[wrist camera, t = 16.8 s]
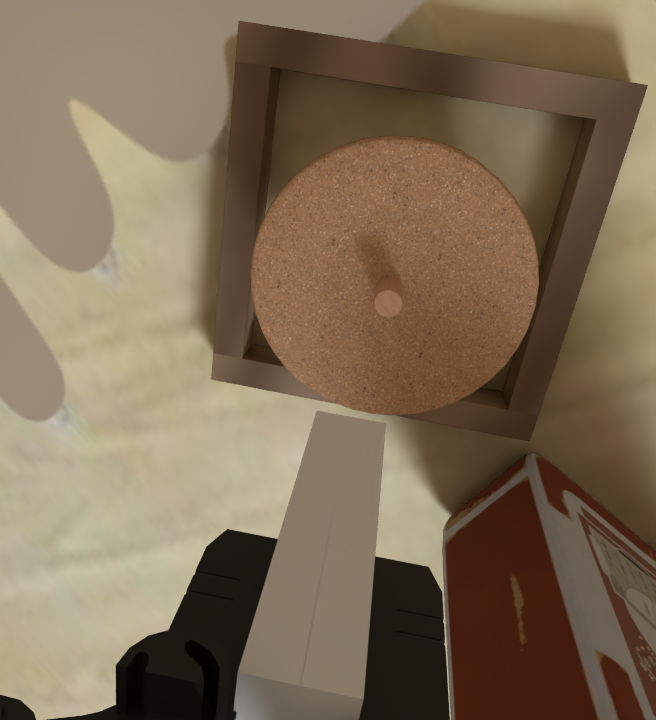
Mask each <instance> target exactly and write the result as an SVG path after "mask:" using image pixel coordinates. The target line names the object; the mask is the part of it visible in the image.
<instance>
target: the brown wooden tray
mask: <svg viewBox="0 0 656 720" xmlns="http://www.w3.org/2000/svg"><path fill="white" fill-rule="evenodd" d="M280 69H285V70H291V71H298V72H304V73H310V74H316V75H322V76H329V77H335V78H341V79H347V80H353V81H360V82H366V83H372V84H378V85H384V86H390V87H397V88H403V89H409V90H415V91H421V92H428V93H434V94H440V95H446V96H452V97H459V98H465V99H471V100H477V101H483V102H490V103H496V104H502V105H508V106H514V107H521V108H527V109H533V110H539V111H545V112H552V113H558V114H564V115H570V116H576V117H583V118H584V122H583V125H582V128H581V132H580V135H579V138H578V142H577V145H576V148H575V152H574V155H573V158H572V162H571V165H570V168H569V172H568V175H567V178H566V182H565V185H564V189H563V192H562V195H561V199H560V202H559V205H558V209H557V212H556V215H555V219H554V222H553V225H552V229H551V232H550V235H549V239H548V242H547V245H546V249H545V252H544V256H543V259H542V262H541V266H540V269H539V286H538V293H537V299H536V306H535V310H534V313H533V316H532V319H531V322H530V325H529V328H528V330H527V332H526V334H525V336H524V338H523V339H522V341H521V343H520V345H519V347H518V349H517V350H516V351H515V353H514V356H513V359H512V363H511V366H510V369H509V373H508V376H507V379H506V383H505V386H504V390H503V392H500V391H495V390H490V389H485V388H479V389H477V390H476V391H475V392H473V393H471V394H470V395H468V396H466V397H464V398H462V399H460V400H458V401H456V402H454V403H452V404H449V405H446V406H443V407H441V408H438V409H435V410H430V411H426V412H421V413H416V414H404V415H397V416H402V417H407V418H412V419H417V420H422V421H427V422H433V423H438V424H443V425H448V426H453V427H458V428H463V429H468V430H474V431H479V432H484V433H489V434H494V435H499V436H504V437H509V438H515V439H520V440H525V441H530V439H531V436H532V433H533V430H534V427H535V424H536V421H537V418H538V415H539V412H540V409H541V406H542V403H543V400H544V397H545V394H546V391H547V388H548V385H549V382H550V379H551V376H552V373H553V370H554V367H555V364H556V361H557V358H558V355H559V352H560V349H561V346H562V343H563V340H564V337H565V334H566V331H567V328H568V325H569V322H570V319H571V316H572V313H573V310H574V307H575V304H576V301H577V298H578V295H579V292H580V289H581V285H582V282H583V279H584V276H585V273H586V270H587V267H588V264H589V261H590V258H591V255H592V252H593V249H594V246H595V243H596V240H597V237H598V234H599V231H600V228H601V225H602V222H603V219H604V216H605V213H606V210H607V207H608V204H609V201H610V198H611V195H612V192H613V189H614V186H615V183H616V180H617V177H618V174H619V171H620V168H621V165H622V162H623V159H624V156H625V153H626V150H627V147H628V144H629V141H630V138H631V135H632V132H633V129H634V126H635V123H636V120H637V117H638V114H639V111H640V107H641V104H642V101H643V98H644V95H645V92H646V89H647V86H648V85H644V84H637V83H631V82H625V81H618V80H612V79H606V78H599V77H593V76H587V75H580V74H574V73H567V72H561V71H555V70H548V69H542V68H536V67H529V66H523V65H517V64H510V63H504V62H497V61H491V60H485V59H478V58H472V57H466V56H459V55H453V54H447V53H440V52H434V51H427V50H421V49H415V48H408V47H402V46H396V45H389V44H383V43H377V42H370V41H364V40H357V39H350V38H344V37H338V36H332V35H325V34H319V33H313V32H307V31H300V30H294V29H287V28H281V27H275V26H268V25H261V24H256V23H248V22H243V21H239V25H238V37H237V50H236V63H235V76H234V89H233V103H232V116H231V129H230V142H229V155H228V168H227V181H226V194H225V207H224V220H223V233H222V246H221V260H220V273H219V286H218V299H217V312H216V325H215V338H214V351H213V364H212V377H211V379H212V380H217V381H222V382H227V383H232V384H238V385H243V386H248V387H253V388H258V389H263V390H268V391H274V392H279V393H284V394H289V395H294V396H299V397H304V398H309V399H315V400H320V401H325V402H330V403H334V402H332V401H330V400H328V399H326V398H325V397H323V396H321V395H319V394H317V393H315V392H314V391H313V390H311V389H310V388H308V387H307V386H306V385H304V384H303V383H302V382H300V381H299V380H298V379H297V378H296V377H295V376H294V375H293V374H292V373H291V372H290V371H289V370H288V369H287V368H286V367H285V366H284V365H283V364H282V362H281V361H280V360H279V358H278V357H277V356H276V354H275V353H274V352H273V351H272V349H271V348H269V347H264V346H259V345H254V344H252V336H253V327H254V317H255V309H254V304H253V299H252V294H251V275H250V270H251V261H252V253H253V248H254V244H255V241H256V237H257V234H258V230H259V227H260V225H261V223H262V221H263V219H264V217H265V211H266V202H267V192H268V183H269V173H270V163H271V154H272V144H273V134H274V125H275V115H276V106H277V96H278V86H279V77H280ZM335 404H337V403H335Z"/></svg>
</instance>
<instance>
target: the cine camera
mask: <svg viewBox="0 0 656 720" xmlns="http://www.w3.org/2000/svg"><path fill="white" fill-rule="evenodd" d="M442 553H443V578H444V598H445V616H446V635H447V653H448V671H449V690H450V708H451V720H656V552H655V551H654V550H653V549H652V548H651V547H650V546H648V545H647V544H646V543H645V542H644V541H642V540H641V539H640V538H639V537H638V536H637V535H635V534H634V533H633V532H632V531H631V530H629V529H628V528H627V527H626V526H625V525H624V524H622V523H621V522H620V521H619V520H618V519H617V518H615V517H614V516H613V515H612V514H611V513H609V512H608V511H607V510H606V509H605V508H604V507H602V506H601V505H600V504H599V503H598V502H596V501H595V500H594V499H593V498H592V497H591V496H589V495H588V494H587V493H586V492H585V491H583V490H582V489H581V488H580V487H579V486H578V485H576V484H575V483H574V482H573V481H572V480H570V479H569V478H568V477H567V476H566V475H565V474H563V473H562V472H561V471H560V470H559V469H557V468H556V467H555V466H554V465H553V464H551V463H550V462H549V461H547V460H546V459H544V458H543V457H541V456H539V455H537V454H535V453H532V454H529V455H526V456H525V457H523V458H522V459H521V460H519V461H518V462H517V463H516V464H514V465H513V466H512V467H511V468H509V469H508V470H507V471H506V472H504V473H503V474H502V475H501V476H500V477H498V478H497V479H496V480H495V481H493V482H492V483H491V484H490V485H488V486H487V487H486V488H485V489H484V490H482V491H481V492H480V493H479V494H477V495H476V496H475V497H474V498H472V499H471V500H470V501H469V502H468V503H466V504H465V505H464V506H463V507H461V508H460V509H459V510H458V511H457V512H456V513H454V514H453V515H452V516H451V517H450V518H449V519H448V521H447V522H446V524H445V527H444V529H443V547H442Z"/></svg>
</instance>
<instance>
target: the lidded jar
mask: <svg viewBox="0 0 656 720" xmlns="http://www.w3.org/2000/svg"><path fill="white" fill-rule="evenodd" d="M250 275H251V294H252V299H253V304H254V309H255V313H256V316H257V319H258V322H259V324H260V327H261V330H262V332H263V334H264V336H265V338H266V340H267V342H268V343H269V345H270V347H271V349H272V351H273V352H274V353H275V354H276V356H277V357H278V358H279V360H280V361H281V362H282V364H283V365H284V366H285V367H286V368H287V369H288V370H289V371H290V372H291V373H292V374H293V375H294V376H295V377H296V378H297V379H298V380H299V381H300V382H302V383H303V384H304V385H306V386H307V387H308V388H310V389H311V390H313V391H314V392H315V393H317V394H319V395H321V396H323V397H325V398H326V399H328V400H330V401H332V402H334V403H337V404H340V405H342V406H345V407H348V408H350V409H353V410H358V411H363V412H367V413H372V414H384V415H404V414H416V413H421V412H426V411H430V410H435V409H438V408H441V407H443V406H446V405H449V404H452V403H454V402H456V401H458V400H460V399H462V398H464V397H466V396H468V395H470V394H471V393H473V392H475V391H476V390H477V389H479V388H480V387H481V386H483V385H484V384H486V383H487V382H488V381H490V380H491V379H492V378H493V377H494V376H495V375H496V374H497V373H498V372H499V371H500V370H501V369H502V368H503V367H504V366H505V365H506V364H507V362H508V361H509V359H510V358H511V357H512V355H513V354H514V353H515V351H516V350H517V349H518V347H519V345H520V343H521V341H522V339H523V338H524V336H525V334H526V332H527V330H528V328H529V325H530V322H531V319H532V316H533V313H534V310H535V306H536V299H537V293H538V286H539V269H538V257H537V252H536V247H535V241H534V238H533V235H532V232H531V230H530V227H529V224H528V222H527V219H526V217H525V215H524V213H523V212H522V210H521V208H520V207H519V205H518V203H517V201H516V200H515V198H514V196H513V195H512V194H511V193H510V192H509V191H508V189H507V188H506V187H505V186H504V185H503V183H502V182H501V181H500V180H499V179H498V178H497V177H496V176H495V175H494V174H493V173H491V172H490V171H489V170H488V169H487V168H485V167H484V166H483V165H482V164H481V163H479V162H478V161H477V160H475V159H473V158H471V157H470V156H468V155H466V154H465V153H463V152H461V151H459V150H458V149H455V148H452V147H450V146H447V145H444V144H442V143H439V142H436V141H433V140H427V139H422V138H417V137H411V136H382V137H375V138H369V139H362V140H359V141H356V142H353V143H350V144H347V145H344V146H340V147H338V148H336V149H334V150H332V151H330V152H329V153H327V154H325V155H323V156H321V157H319V158H317V159H316V160H314V161H313V162H312V163H310V164H309V165H308V166H306V167H305V168H304V169H302V170H301V171H300V172H298V173H297V174H296V175H295V176H294V177H293V178H292V179H291V180H290V181H289V182H288V184H287V185H286V186H285V187H284V188H283V189H282V190H281V191H280V193H279V194H278V195H277V197H276V198H275V200H274V201H273V203H272V204H271V206H270V207H269V208H268V211H267V213H266V215H265V217H264V219H263V221H262V223H261V225H260V227H259V230H258V234H257V237H256V241H255V244H254V248H253V253H252V261H251V270H250Z"/></svg>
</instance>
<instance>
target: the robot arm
mask: <svg viewBox="0 0 656 720" xmlns="http://www.w3.org/2000/svg"><path fill="white" fill-rule="evenodd" d="M385 427H386V423H380V422H375V421H369V420H364V419H358V418H353V417H348V416H342V415H337V414H331V413H326V412H321V411H317V412H316V415H315V419H314V422H313V425H312V429H311V432H310V435H309V438H308V442H307V445H306V448H305V452H304V455H303V458H302V462H301V465H300V468H299V471H298V475H297V478H296V481H295V485H294V488H293V491H292V495H291V498H290V501H289V504H288V508H287V511H286V514H285V518H284V521H283V524H282V528H281V531H280V534H279V538H278V539H274V538H269V537H264V536H259V535H254V534H249V533H244V532H239V531H234V530H229V529H227V530H226V531H224V532H223V533H222V534H221V535H220V536H219V537H217V538H216V539H215V540H214V541H213V542H212V543H210V544H209V545H208V546H207V547H206V549H205V551H204V554H203V556H202V558H201V560H200V562H199V564H198V567H197V569H196V573H195V575H193V578H192V580H191V582H190V584H189V586H188V589H187V592H186V595H184V597H183V600H182V602H181V604H180V606H179V608H178V611H177V613H176V615H175V617H174V619H173V621H172V624H171V626H170V628H169V630H168V631H164V632H160V633H157V634H153V635H149V636H147V637H146V638H144V639H143V640H141V641H139V642H138V643H136V644H135V645H133V646H132V647H130V648H129V649H128V651H127V652H126V653H125V654H124V656H123V657H122V658H121V659H120V661H119V662H118V663H117V665H116V705H114V706H112V707H110V708H107V709H105V710H103V711H100V712H97V713H92V714H88V715H83V716H75V717H66V718H57V719H48V720H450V716H449V700H448V683H447V666H446V650H445V646H444V643H445V633H444V623H443V619H444V617H443V600H442V591H441V589H440V587H439V585H438V584H437V582H436V580H435V578H434V576H433V574H432V572H431V571H430V569H429V567H426V566H421V565H416V564H411V563H406V562H401V561H396V560H391V559H385V558H380V557H375V551H376V539H377V526H378V514H379V502H380V489H381V477H382V464H383V452H384V440H385ZM0 720H36V718H35V715H34V712H33V711H32V710H31V709H29V708H28V707H27V706H26V705H25V704H24V703H23V702H22V701H21V700H18V699H14V698H10V697H7V696H3V695H0Z"/></svg>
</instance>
